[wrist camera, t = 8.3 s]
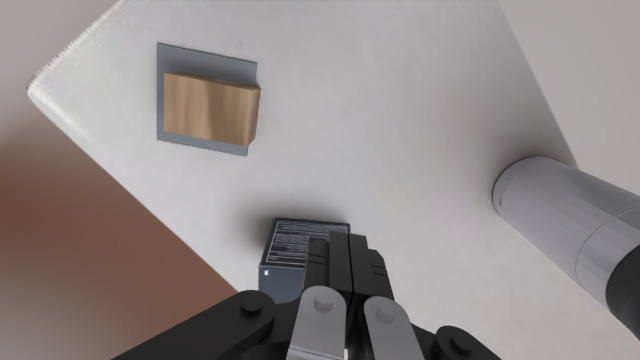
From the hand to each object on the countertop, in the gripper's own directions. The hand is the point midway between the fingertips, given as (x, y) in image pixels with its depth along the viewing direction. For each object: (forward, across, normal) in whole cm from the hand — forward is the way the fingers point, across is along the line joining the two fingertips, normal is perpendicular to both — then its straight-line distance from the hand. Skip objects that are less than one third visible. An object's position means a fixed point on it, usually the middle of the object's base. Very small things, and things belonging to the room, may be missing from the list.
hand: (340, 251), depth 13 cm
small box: (+26, 0, +16) cm, 31 cm away
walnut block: (+23, +9, 0) cm, 25 cm away
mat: (+26, +16, 0) cm, 30 cm away
